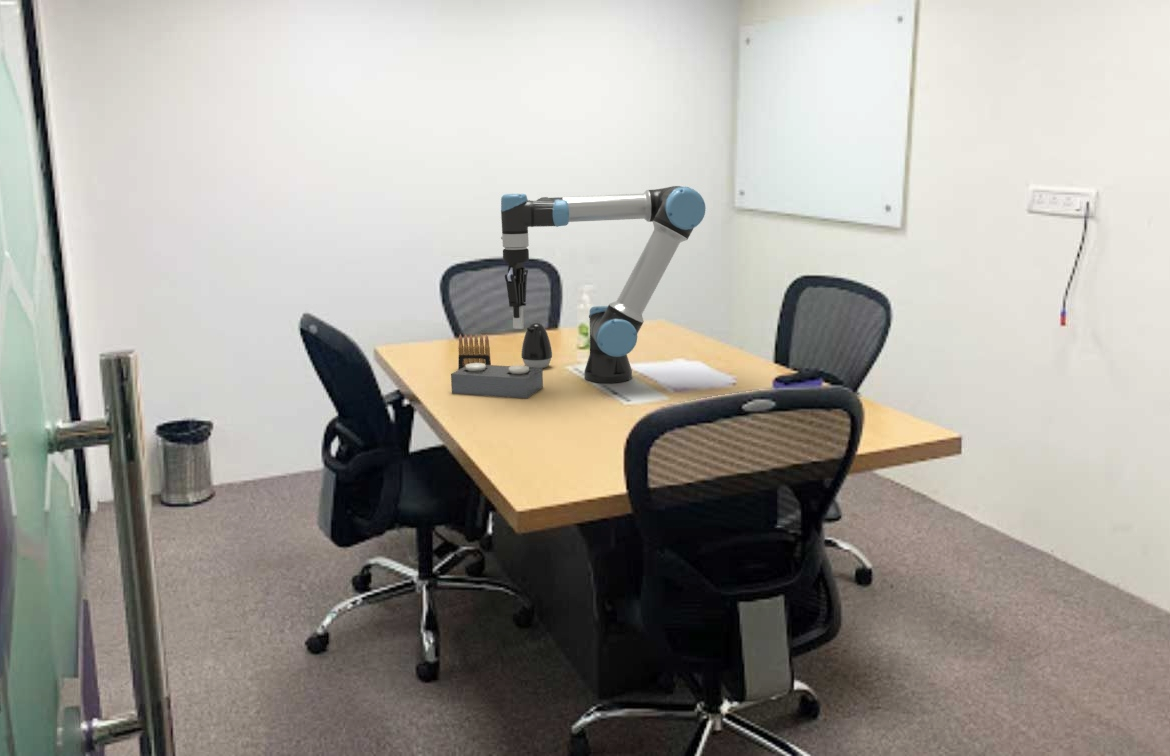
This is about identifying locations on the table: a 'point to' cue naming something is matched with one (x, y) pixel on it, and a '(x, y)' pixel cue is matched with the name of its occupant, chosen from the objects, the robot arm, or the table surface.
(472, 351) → the ammunition clip
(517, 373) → the knob near
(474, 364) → the knob far
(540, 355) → the pump dispenser
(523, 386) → the housing
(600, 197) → the robot arm
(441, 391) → the table surface
